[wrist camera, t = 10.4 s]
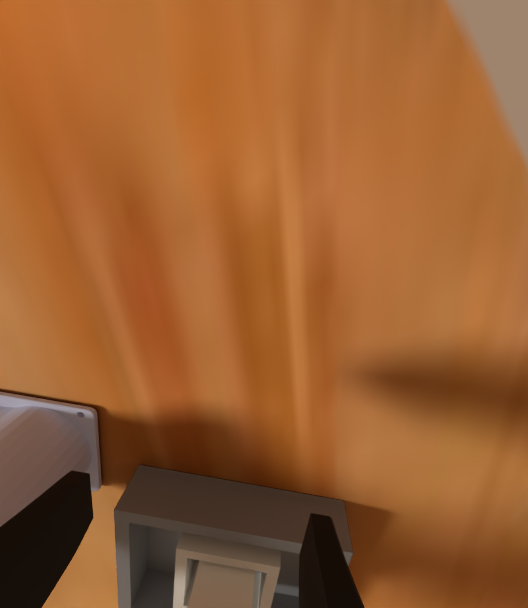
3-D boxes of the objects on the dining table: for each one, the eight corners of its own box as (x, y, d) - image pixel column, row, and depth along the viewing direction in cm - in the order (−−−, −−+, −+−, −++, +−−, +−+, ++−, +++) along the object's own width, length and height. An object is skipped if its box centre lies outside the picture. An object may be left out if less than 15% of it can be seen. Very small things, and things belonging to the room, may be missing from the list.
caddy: (140, 563, 27) (117, 617, 24) (139, 464, 23) (112, 512, 20) (313, 595, 27) (317, 656, 23) (343, 500, 23) (353, 556, 19)
